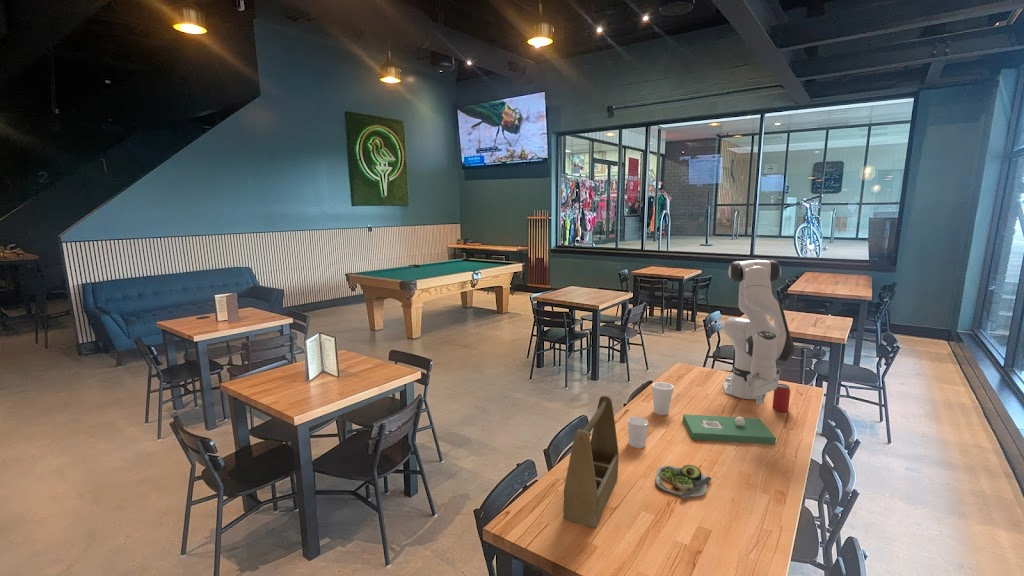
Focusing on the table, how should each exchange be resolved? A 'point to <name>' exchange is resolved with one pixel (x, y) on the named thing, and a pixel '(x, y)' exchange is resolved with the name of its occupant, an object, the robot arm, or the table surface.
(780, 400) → the beer can
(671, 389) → the foam cup
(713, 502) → the table surface
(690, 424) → the green rectangular slab
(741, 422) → the ball
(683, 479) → the avocado toast plate
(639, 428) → the white cup
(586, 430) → the caddy
